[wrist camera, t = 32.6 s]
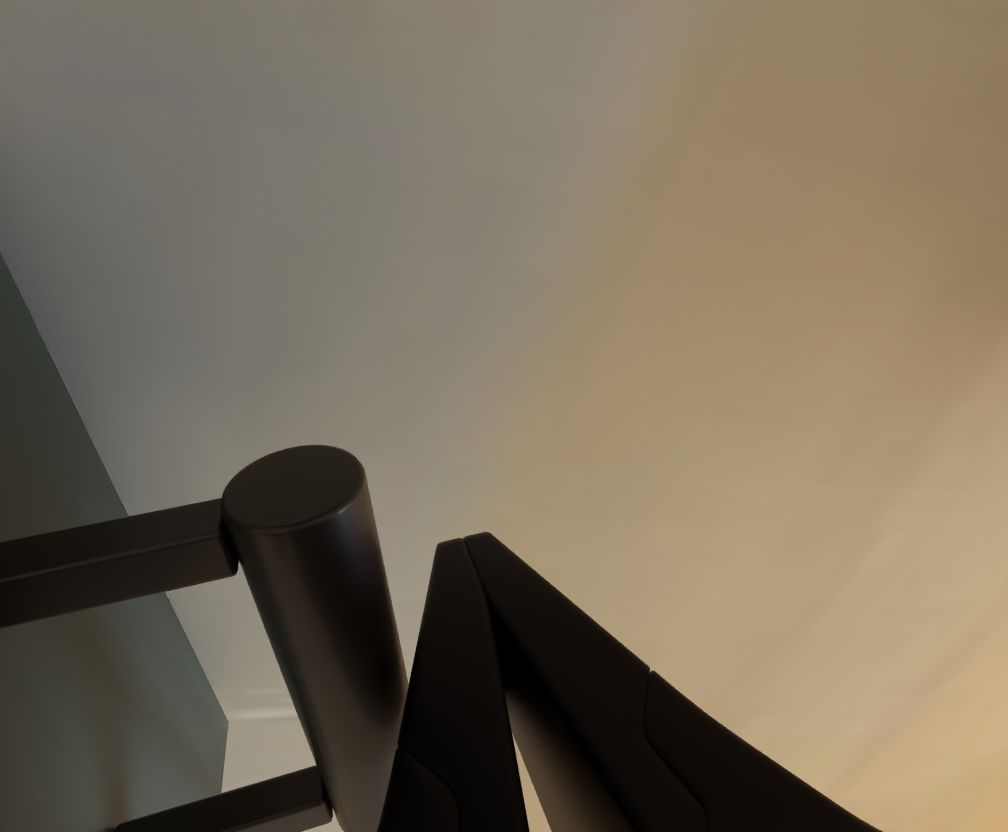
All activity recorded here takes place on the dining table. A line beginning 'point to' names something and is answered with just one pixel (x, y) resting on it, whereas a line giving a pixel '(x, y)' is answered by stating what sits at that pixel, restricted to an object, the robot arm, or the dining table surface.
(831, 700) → the dining table surface
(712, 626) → the dining table surface
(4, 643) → the drawer
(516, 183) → the dining table surface
